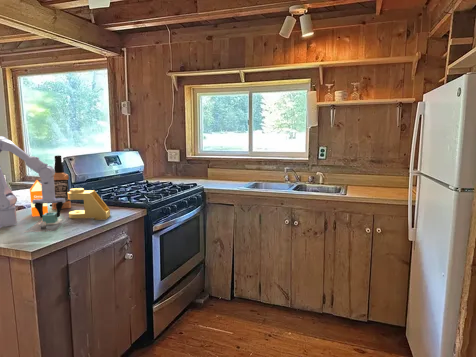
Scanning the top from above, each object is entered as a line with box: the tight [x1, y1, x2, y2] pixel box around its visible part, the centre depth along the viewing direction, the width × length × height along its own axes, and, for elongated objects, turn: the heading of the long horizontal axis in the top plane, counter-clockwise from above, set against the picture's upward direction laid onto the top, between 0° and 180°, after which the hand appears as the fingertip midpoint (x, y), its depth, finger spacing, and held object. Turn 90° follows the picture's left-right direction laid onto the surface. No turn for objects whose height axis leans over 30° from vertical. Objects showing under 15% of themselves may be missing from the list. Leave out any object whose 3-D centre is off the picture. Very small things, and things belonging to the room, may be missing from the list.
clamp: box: [68, 187, 111, 221], centre depth 183 cm, size 20×9×16 cm, turn 97°
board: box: [23, 218, 68, 234], centre depth 165 cm, size 13×21×1 cm, turn 13°
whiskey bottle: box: [51, 154, 72, 210], centre depth 206 cm, size 10×10×32 cm
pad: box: [38, 218, 64, 225], centre depth 171 cm, size 9×9×1 cm
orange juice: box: [29, 179, 49, 217], centre depth 186 cm, size 8×9×20 cm
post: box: [40, 221, 46, 229], centre depth 160 cm, size 2×2×3 cm
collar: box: [41, 212, 59, 223], centre depth 170 cm, size 5×5×4 cm
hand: (50, 217), depth 171 cm, fingers open, 7 cm apart
